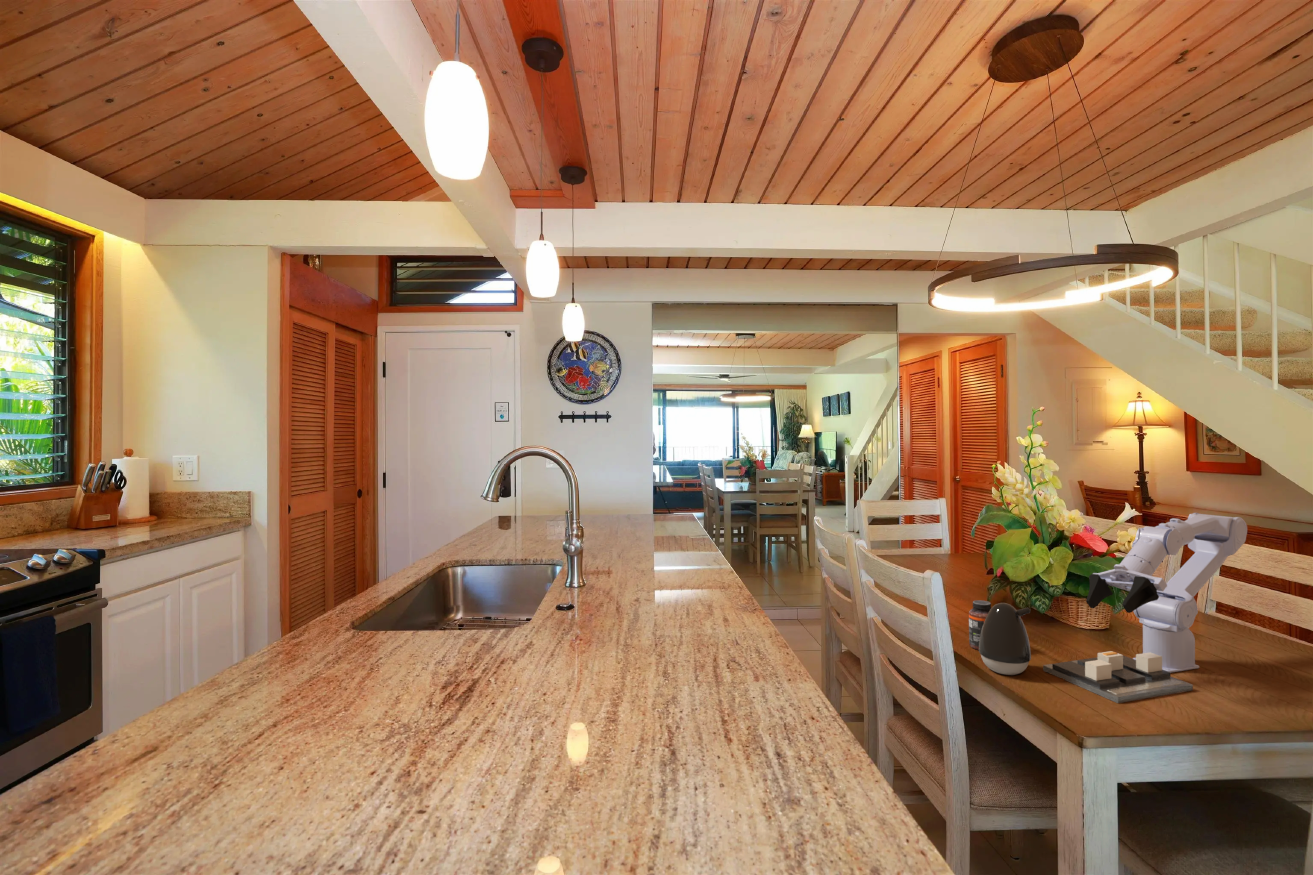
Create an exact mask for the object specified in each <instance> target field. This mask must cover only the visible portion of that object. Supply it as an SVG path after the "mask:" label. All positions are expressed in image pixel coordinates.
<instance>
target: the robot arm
mask: <svg viewBox="0 0 1313 875" xmlns="http://www.w3.org/2000/svg"><path fill="white" fill-rule="evenodd" d="M1247 535H1248V524H1247V523H1246V521H1245V520H1244V519H1243V518H1242V517H1241V516H1235V517H1234V516H1233V517H1232V516H1224V515H1216V514H1215V515H1214V514H1205V513H1199V512H1193V513H1189V515H1188V517H1187V519H1186V520H1181V519H1180V518H1175V517H1172V518H1170V519H1169V521H1167V522H1166V523H1164V522H1161V523H1158V525H1156V526H1149V525H1148V526H1147V525H1146V526H1144V527H1138V529H1137V530H1136V534H1135V538H1134V540H1133V541H1132V544H1131V549H1130V550H1129V552H1128V553H1127V554H1126V555H1125V556H1124V558H1123V559H1122V560H1121V562H1120V563H1118V564H1117V563H1116V564H1114V566H1113V569H1109V570H1105V571H1101V572H1098V573H1097V572H1093V573H1092V574H1090V575H1089V576H1088V581H1089V589H1088V594H1087V597H1086V599H1085V600H1086V601H1085V602H1086V604H1087V605H1088V607H1089V608H1090V609H1095V608H1096V607H1098V605H1099V604H1100V603H1101V602H1103V600H1105V599H1106V598H1107V597H1111V596H1112V595H1114V593H1113V591H1112V590H1111V587H1114V588H1118V589H1121V590H1125V591H1127V592H1128V593H1127V595H1126V596H1125V598H1124V600H1123V602H1122V605H1121V606H1122V607H1123V609H1124V610H1125V612H1126V613H1128V614H1130V613H1131V614H1132V613H1134V615H1135V617H1136V618H1137V619H1139V620H1138V621H1139V623H1140V624H1142V653H1149V652H1151V653H1154V654H1156V655H1159V656H1162V670H1165V671H1168V672H1170V673H1175V672H1182V671H1189V670H1195V669H1199V668H1200V665H1198V664H1196V638H1195V635H1194V633H1193V632H1192V631H1191V630H1190V628H1191V627H1192V626H1193V625H1194V621H1195V620H1196V616H1197V615H1198V611H1199V610H1198V609H1199V608H1198V603H1197V601H1196V599H1195V598H1194V597H1195V596H1196V595H1197V593H1198V592H1199V591H1200V590H1201V589H1202V588H1203V587H1204V586H1205V584H1206V583H1208V582H1209V581H1210V579H1211V578H1212V577H1213V576H1214V575H1215V573H1216V572H1217V571H1218V570H1219V569H1220V568H1221V567H1222V565H1223V564H1224V563H1225V561H1226V560H1227V558H1228V557H1231V556H1233V555H1235V554H1236V553H1237V552H1238V551H1239V550H1240V549H1241V547H1242V546H1243V545H1244V544H1245V542H1246V541H1247ZM1185 545H1187V547H1188V548H1189V550H1191V551H1193V552H1194V554H1192V556H1191V557H1190V558H1189V559H1188V560H1187V561H1186V562H1185V563H1184V564H1183V565H1182V566H1181V567H1180V568H1178V570H1177V571H1176V573H1174V575H1173V576H1171V578H1170V579H1169V580H1168V581H1167V582H1166V581H1165V579H1164V578H1163V577H1158V576H1153V574H1154V573H1155V572H1156V571H1157V569H1158V568H1159V566H1161V564H1162V562H1164V559H1165V558H1166V557H1167V555H1168V556H1176V555H1177V554H1178V553H1179V551H1180V549H1182V548H1183V546H1185ZM1110 586H1111V587H1110ZM1132 659H1134V660H1136V657H1133V658H1132Z"/></svg>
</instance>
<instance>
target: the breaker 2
mask: <svg viewBox="0 0 1313 875" xmlns="http://www.w3.org/2000/svg"><path fill="white" fill-rule="evenodd" d="M1135 658H1136V668H1137V669H1140V670H1142V671H1145V672H1148V673H1149V672H1155V671H1162V656H1159V655H1156V654H1154V653H1151V652H1149V653H1143V652H1142V653H1137V654H1135Z"/></svg>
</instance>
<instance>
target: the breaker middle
mask: <svg viewBox="0 0 1313 875" xmlns="http://www.w3.org/2000/svg"><path fill="white" fill-rule="evenodd" d="M1123 656H1124V655H1123V654H1121V653H1118V652H1115V651H1111V650H1109V651H1103V652H1097V657H1098V660H1102V661H1105V662H1107V663H1110V664H1111V671H1113V670H1120V669H1123Z"/></svg>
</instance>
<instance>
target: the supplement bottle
mask: <svg viewBox="0 0 1313 875" xmlns="http://www.w3.org/2000/svg"><path fill="white" fill-rule="evenodd" d="M991 608H992V603H991V602H990V601H988V600H980V599H979V600H977V599H976V600H973V601H972V608H971V609H970V610H969V611H968V637H969V638H968V641H969V643H968V644H969V646H970V648H972V649H974V650H978V651H979V641H980V635H981V630H982V627H983V624H984V621H985V619H986V617H987V615H988V613H989V611H990V610H991Z"/></svg>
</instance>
